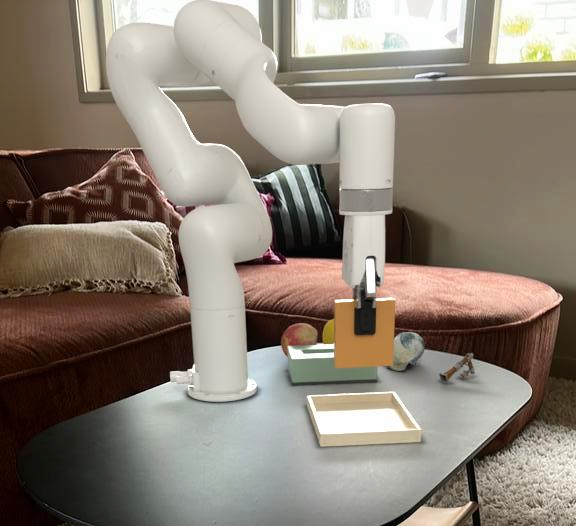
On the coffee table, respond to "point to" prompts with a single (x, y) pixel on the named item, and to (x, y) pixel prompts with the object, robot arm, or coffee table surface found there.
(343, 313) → the toast
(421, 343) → the seashell
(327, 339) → the lemon
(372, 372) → the toaster
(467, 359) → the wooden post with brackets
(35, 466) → the coffee table surface
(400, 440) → the tray
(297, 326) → the fruit
